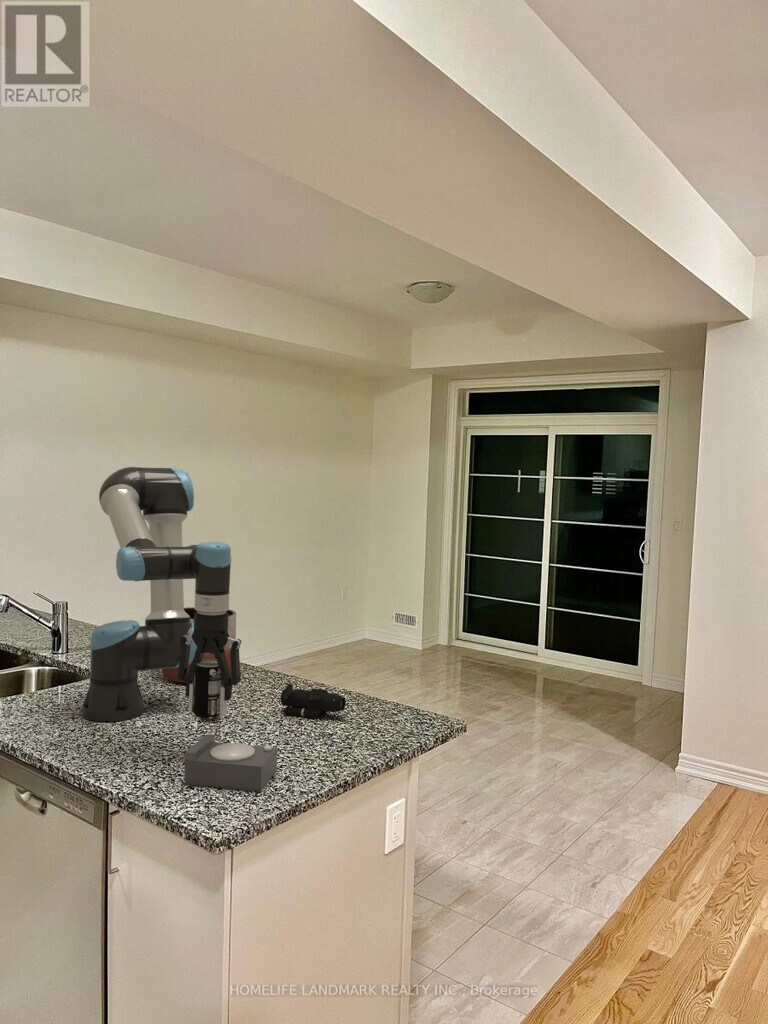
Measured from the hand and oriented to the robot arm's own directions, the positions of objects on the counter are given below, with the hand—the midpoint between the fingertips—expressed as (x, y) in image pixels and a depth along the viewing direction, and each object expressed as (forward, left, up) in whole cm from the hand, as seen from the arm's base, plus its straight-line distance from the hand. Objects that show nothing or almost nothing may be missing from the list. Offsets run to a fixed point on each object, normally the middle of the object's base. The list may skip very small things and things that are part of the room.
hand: (207, 712), depth 170 cm
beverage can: (0, 0, -1) cm, 1 cm away
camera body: (+10, -13, -9) cm, 19 cm away
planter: (-27, +60, -9) cm, 67 cm away
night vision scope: (+16, +32, -9) cm, 37 cm away
